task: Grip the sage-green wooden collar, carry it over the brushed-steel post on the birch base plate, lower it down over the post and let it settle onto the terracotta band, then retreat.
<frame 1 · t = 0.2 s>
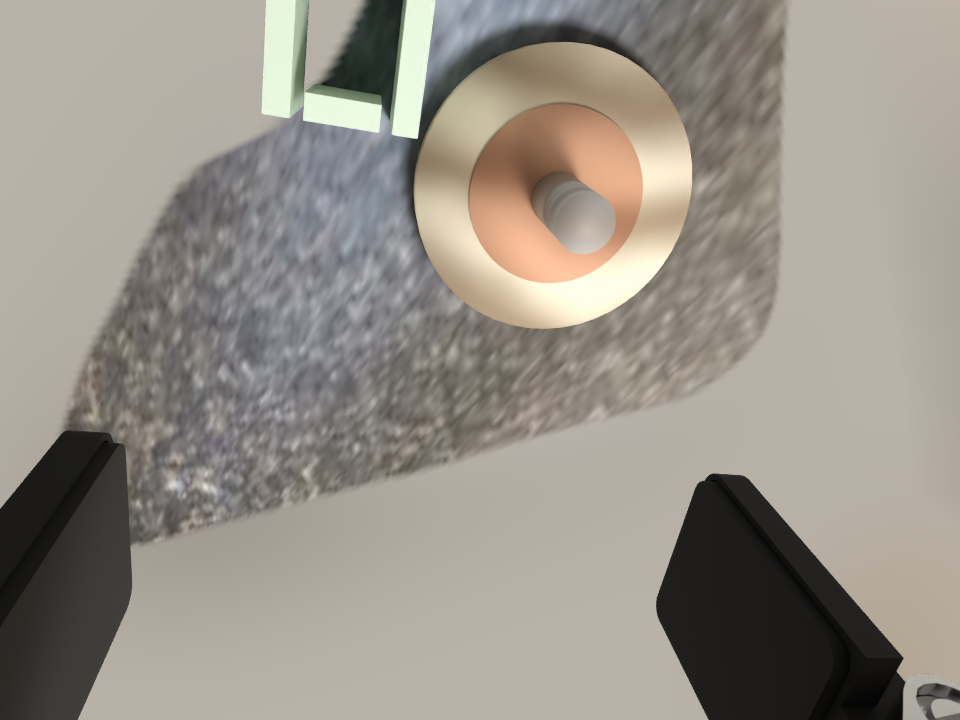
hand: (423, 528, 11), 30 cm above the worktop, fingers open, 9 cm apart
post base: (550, 192, 39), on the worktop
collar: (352, 42, 35), on the worktop
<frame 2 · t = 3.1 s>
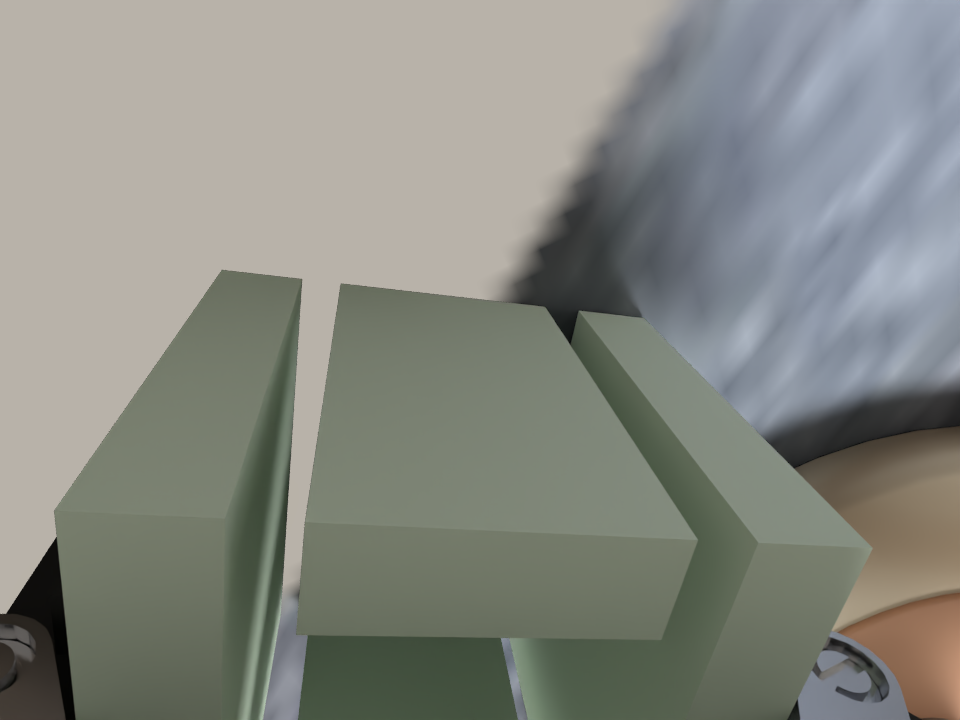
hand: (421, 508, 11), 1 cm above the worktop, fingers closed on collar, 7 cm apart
post base: (856, 698, 17), on the worktop
collar: (418, 473, 12), on the worktop, touching gripper
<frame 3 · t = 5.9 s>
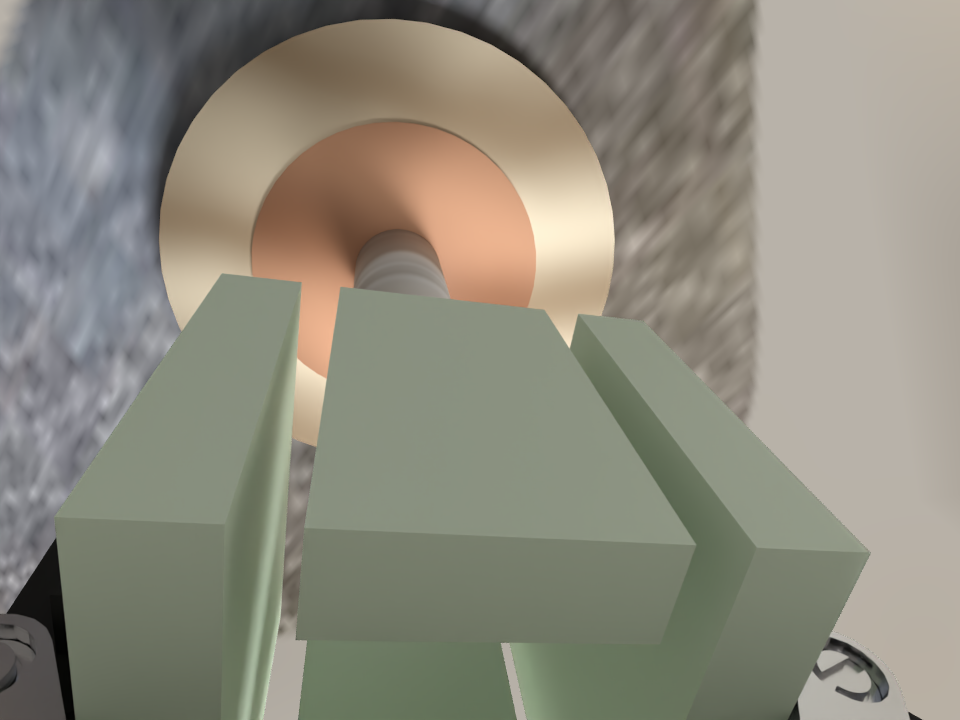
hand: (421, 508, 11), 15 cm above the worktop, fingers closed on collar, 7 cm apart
post base: (396, 257, 25), on the worktop
collar: (418, 476, 12), point 14 cm above the worktop, touching gripper
when the fingers open (4 cm above the worktop, at t = 8.9 s): collar drops 1 cm, resting on post base.
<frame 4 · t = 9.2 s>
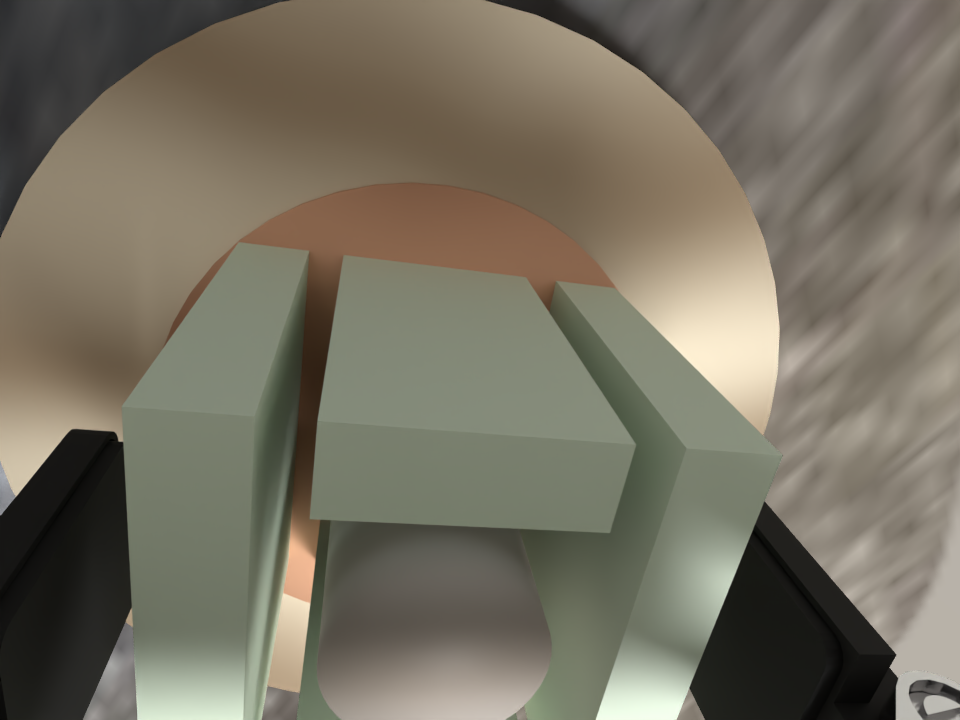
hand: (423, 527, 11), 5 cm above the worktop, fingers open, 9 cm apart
post base: (410, 393, 15), on the worktop
collar: (413, 430, 14), point 2 cm above the worktop, touching post base
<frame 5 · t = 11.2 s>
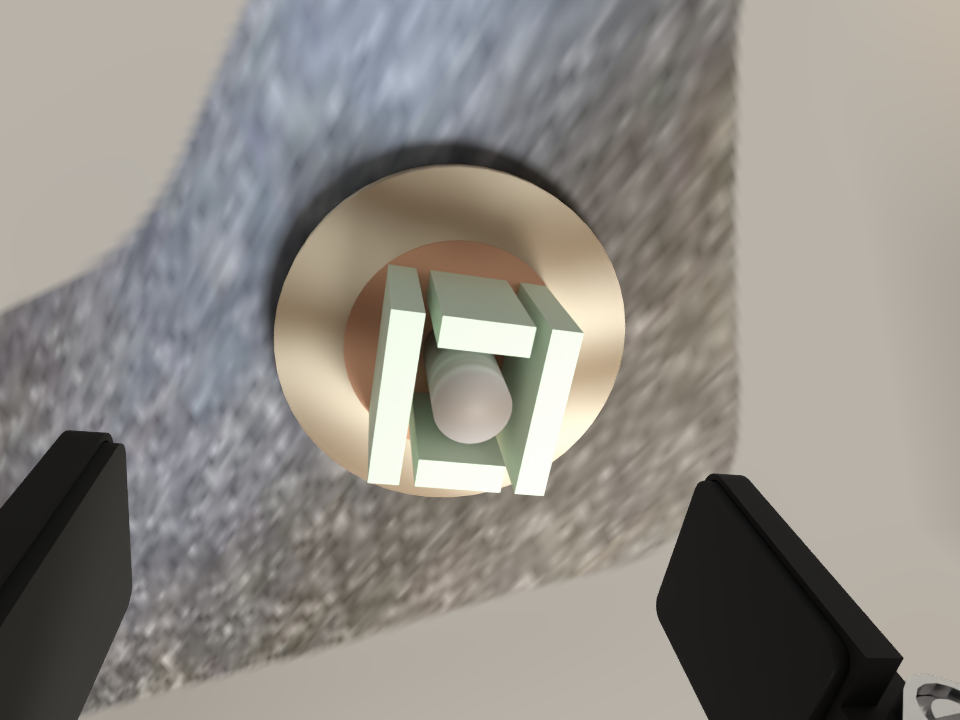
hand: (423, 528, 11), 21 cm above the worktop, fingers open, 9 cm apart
post base: (452, 337, 32), on the worktop
collar: (455, 349, 30), point 2 cm above the worktop, touching post base
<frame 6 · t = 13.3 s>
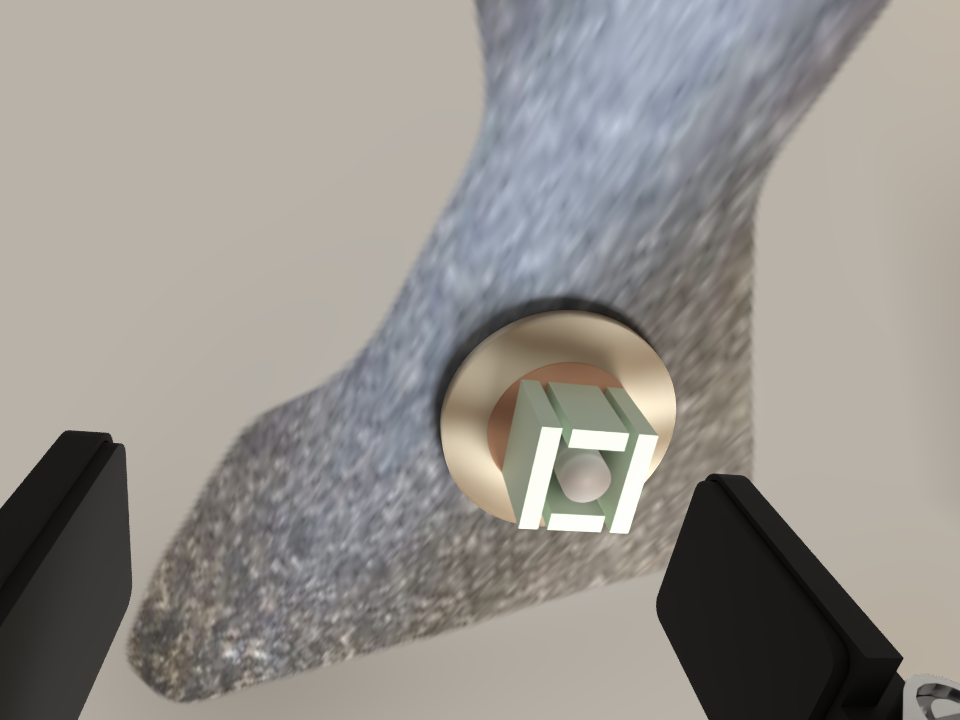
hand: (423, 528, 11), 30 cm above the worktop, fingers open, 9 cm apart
post base: (555, 418, 46), on the worktop
collar: (561, 430, 45), point 2 cm above the worktop, touching post base
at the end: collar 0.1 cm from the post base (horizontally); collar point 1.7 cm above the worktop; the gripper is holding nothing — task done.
